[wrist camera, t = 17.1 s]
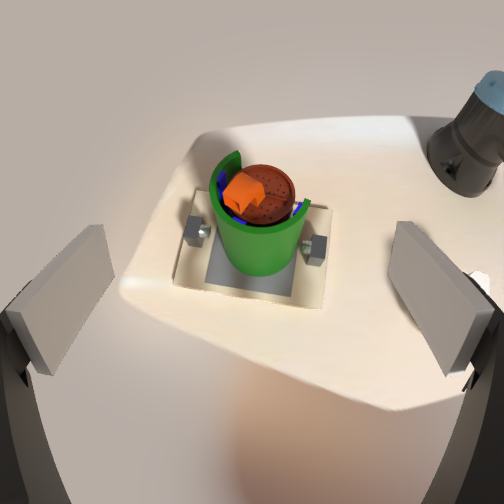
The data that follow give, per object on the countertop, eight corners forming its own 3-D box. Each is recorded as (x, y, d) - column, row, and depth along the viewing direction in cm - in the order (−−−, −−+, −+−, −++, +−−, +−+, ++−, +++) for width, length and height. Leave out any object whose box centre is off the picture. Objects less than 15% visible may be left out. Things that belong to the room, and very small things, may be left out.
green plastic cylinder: (303, 233, 46) (329, 153, 27) (277, 288, 44) (291, 237, 25) (240, 206, 48) (228, 116, 29) (211, 258, 45) (179, 189, 26)
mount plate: (330, 213, 48) (332, 210, 47) (320, 310, 44) (321, 309, 43) (198, 193, 50) (196, 189, 49) (175, 285, 46) (172, 283, 44)
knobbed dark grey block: (214, 228, 47) (211, 218, 43) (209, 249, 46) (205, 240, 42) (193, 225, 47) (188, 215, 43) (188, 245, 46) (183, 236, 42)
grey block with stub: (322, 245, 46) (327, 236, 42) (320, 266, 45) (325, 259, 41) (300, 242, 46) (304, 232, 42) (297, 263, 45) (301, 255, 41)
